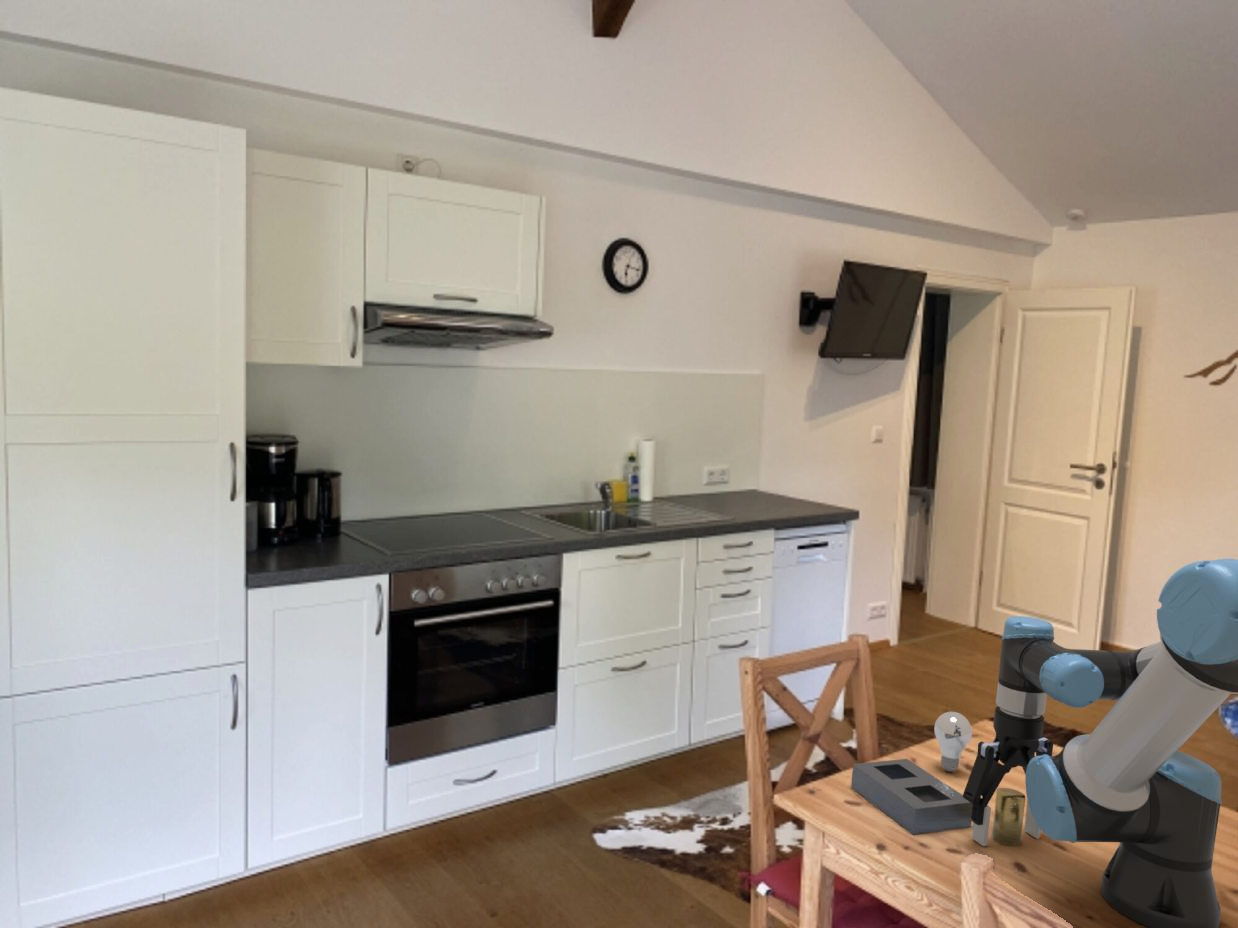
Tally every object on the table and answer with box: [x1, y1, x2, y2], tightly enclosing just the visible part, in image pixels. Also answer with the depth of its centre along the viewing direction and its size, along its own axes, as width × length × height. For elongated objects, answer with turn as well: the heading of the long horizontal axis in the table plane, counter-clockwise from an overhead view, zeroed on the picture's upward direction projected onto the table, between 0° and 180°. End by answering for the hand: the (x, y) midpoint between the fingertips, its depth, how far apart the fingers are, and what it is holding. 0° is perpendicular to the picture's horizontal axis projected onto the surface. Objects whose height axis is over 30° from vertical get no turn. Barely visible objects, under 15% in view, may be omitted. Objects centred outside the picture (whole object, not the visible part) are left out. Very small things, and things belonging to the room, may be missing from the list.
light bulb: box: [933, 711, 973, 774], centre depth 178 cm, size 7×7×12 cm
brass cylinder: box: [991, 787, 1026, 847], centre depth 152 cm, size 4×4×8 cm
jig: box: [850, 758, 973, 836], centre depth 162 cm, size 18×12×4 cm, turn 20°
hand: (1005, 837), depth 152 cm, fingers open, 10 cm apart
